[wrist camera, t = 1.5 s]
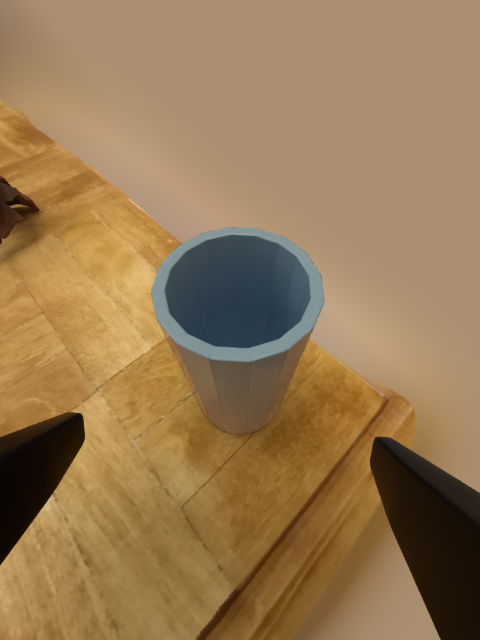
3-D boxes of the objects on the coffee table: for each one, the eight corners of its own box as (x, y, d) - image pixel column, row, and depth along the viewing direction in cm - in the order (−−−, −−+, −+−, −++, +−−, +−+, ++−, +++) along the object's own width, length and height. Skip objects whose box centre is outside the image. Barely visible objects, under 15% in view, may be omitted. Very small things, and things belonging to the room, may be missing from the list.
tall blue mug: (281, 437, 19) (332, 367, 8) (193, 430, 20) (130, 354, 9) (280, 328, 24) (312, 193, 13) (210, 324, 24) (183, 189, 13)
